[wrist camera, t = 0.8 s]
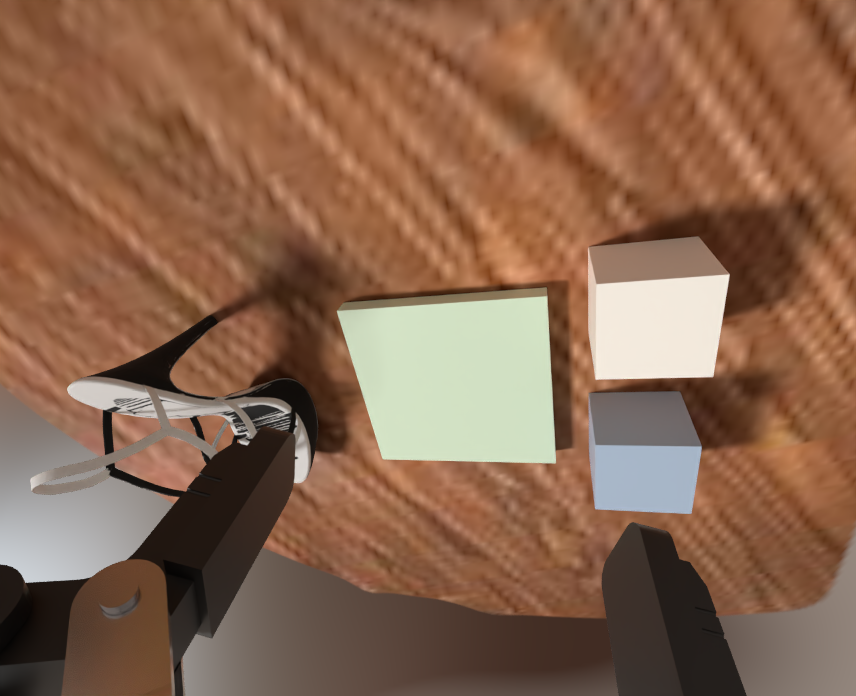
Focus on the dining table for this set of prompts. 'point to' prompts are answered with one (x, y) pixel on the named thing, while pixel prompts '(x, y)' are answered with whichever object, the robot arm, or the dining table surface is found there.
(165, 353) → the sandal
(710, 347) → the white cube
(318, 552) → the dining table surface
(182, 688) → the robot arm
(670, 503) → the brick top
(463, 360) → the base plate
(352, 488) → the dining table surface
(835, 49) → the dining table surface
